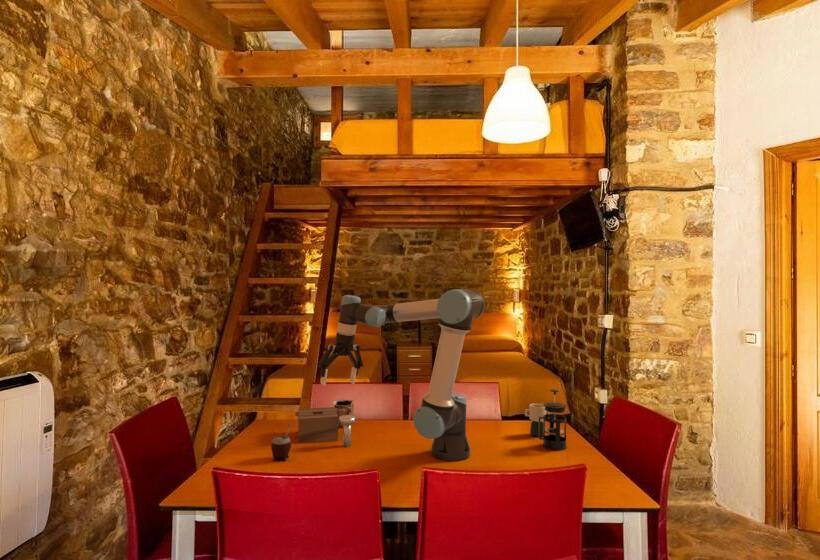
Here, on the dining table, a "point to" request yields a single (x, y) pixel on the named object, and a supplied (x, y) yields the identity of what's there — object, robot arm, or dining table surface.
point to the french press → (554, 438)
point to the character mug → (536, 417)
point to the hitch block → (317, 425)
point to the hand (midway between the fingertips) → (337, 383)
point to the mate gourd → (281, 446)
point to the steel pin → (347, 428)
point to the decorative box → (343, 408)
